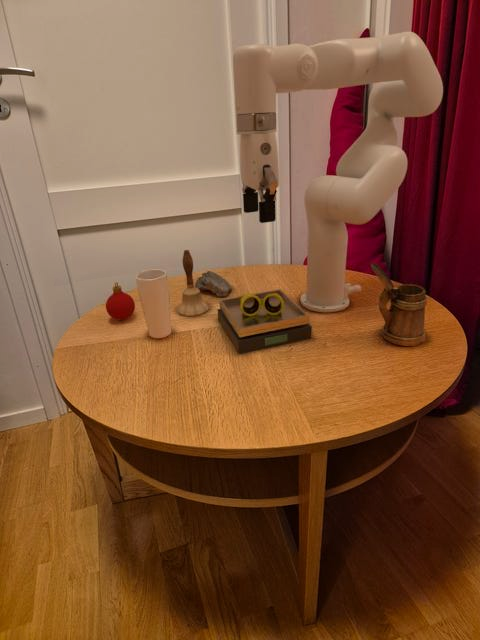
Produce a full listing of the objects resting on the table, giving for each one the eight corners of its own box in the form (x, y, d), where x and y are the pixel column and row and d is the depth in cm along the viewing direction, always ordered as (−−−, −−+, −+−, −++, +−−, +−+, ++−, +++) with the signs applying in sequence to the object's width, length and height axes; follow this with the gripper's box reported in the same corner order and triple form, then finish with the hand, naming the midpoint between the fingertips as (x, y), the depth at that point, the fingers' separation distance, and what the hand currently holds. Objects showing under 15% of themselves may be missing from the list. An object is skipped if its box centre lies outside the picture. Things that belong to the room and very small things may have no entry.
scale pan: (280, 296, 103) (280, 289, 102) (308, 323, 89) (309, 315, 88) (219, 307, 99) (218, 299, 98) (239, 337, 85) (238, 329, 84)
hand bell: (171, 309, 108) (163, 251, 100) (197, 300, 112) (190, 243, 105) (189, 319, 102) (181, 258, 95) (215, 309, 107) (210, 250, 99)
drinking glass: (169, 341, 92) (159, 280, 86) (141, 340, 94) (130, 279, 87) (178, 327, 98) (170, 269, 91) (152, 326, 100) (142, 268, 93)
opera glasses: (282, 309, 96) (281, 289, 95) (284, 315, 91) (283, 294, 90) (241, 311, 96) (240, 291, 95) (240, 317, 91) (239, 296, 90)
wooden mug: (355, 331, 92) (362, 255, 84) (411, 324, 94) (423, 249, 86) (372, 351, 85) (382, 270, 76) (433, 343, 86) (449, 262, 78)
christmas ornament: (132, 324, 101) (125, 287, 96) (104, 325, 102) (96, 288, 97) (140, 312, 107) (133, 276, 103) (114, 312, 108) (106, 277, 103)
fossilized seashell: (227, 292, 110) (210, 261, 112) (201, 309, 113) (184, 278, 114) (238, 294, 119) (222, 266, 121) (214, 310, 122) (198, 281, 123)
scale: (281, 307, 105) (281, 295, 104) (311, 338, 90) (312, 324, 89) (218, 320, 101) (217, 306, 99) (239, 354, 86) (238, 339, 85)
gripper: (293, 123, 69) (293, 223, 77) (259, 122, 84) (261, 206, 92) (252, 126, 68) (255, 228, 75) (224, 125, 82) (229, 210, 90)
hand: (258, 216), depth 84 cm, fingers open, 9 cm apart
